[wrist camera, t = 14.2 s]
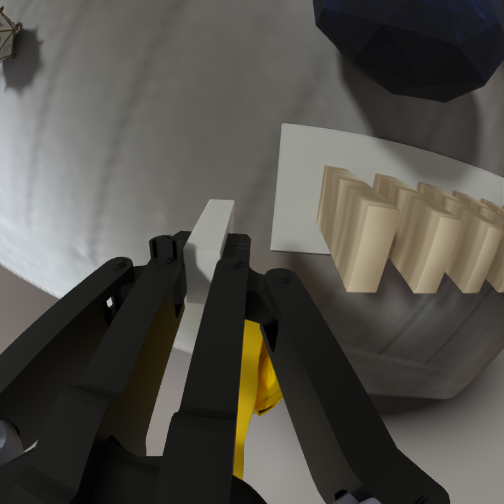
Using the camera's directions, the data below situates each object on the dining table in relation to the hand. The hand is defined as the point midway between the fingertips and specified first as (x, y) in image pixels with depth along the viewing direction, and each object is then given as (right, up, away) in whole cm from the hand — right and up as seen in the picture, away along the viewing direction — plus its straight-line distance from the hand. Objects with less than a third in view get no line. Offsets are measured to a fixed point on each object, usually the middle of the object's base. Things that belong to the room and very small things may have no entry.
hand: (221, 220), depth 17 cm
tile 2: (+14, +3, +7) cm, 16 cm away
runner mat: (+22, +3, +7) cm, 23 cm away
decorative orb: (+13, +18, 0) cm, 22 cm away
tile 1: (+9, +3, +7) cm, 12 cm away
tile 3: (+19, +2, +7) cm, 20 cm away
